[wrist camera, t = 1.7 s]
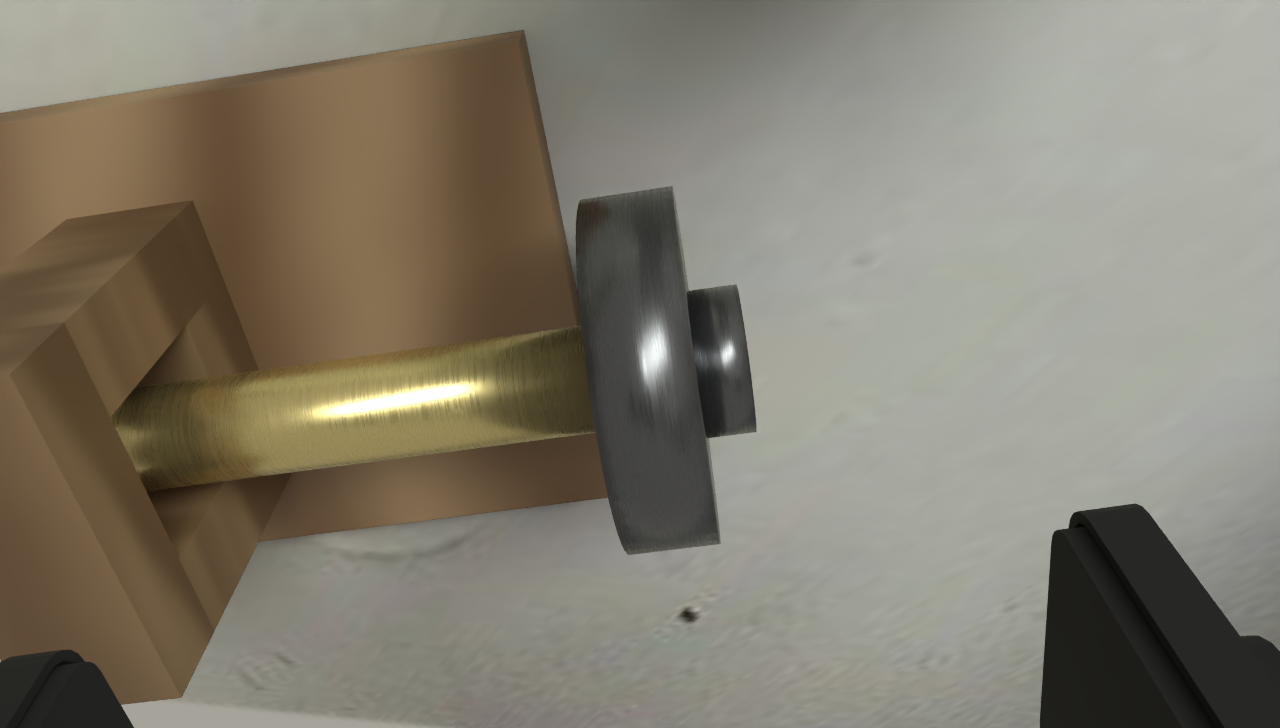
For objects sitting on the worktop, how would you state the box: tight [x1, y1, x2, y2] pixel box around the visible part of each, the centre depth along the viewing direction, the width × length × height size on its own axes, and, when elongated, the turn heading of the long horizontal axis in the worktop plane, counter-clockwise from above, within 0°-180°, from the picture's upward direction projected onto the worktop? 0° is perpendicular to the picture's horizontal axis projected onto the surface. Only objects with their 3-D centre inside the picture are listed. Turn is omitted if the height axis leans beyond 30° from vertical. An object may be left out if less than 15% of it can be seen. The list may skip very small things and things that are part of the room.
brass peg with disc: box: [110, 186, 756, 555], centre depth 21 cm, size 17×7×7 cm, turn 99°
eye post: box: [0, 30, 608, 705], centre depth 22 cm, size 15×12×9 cm
